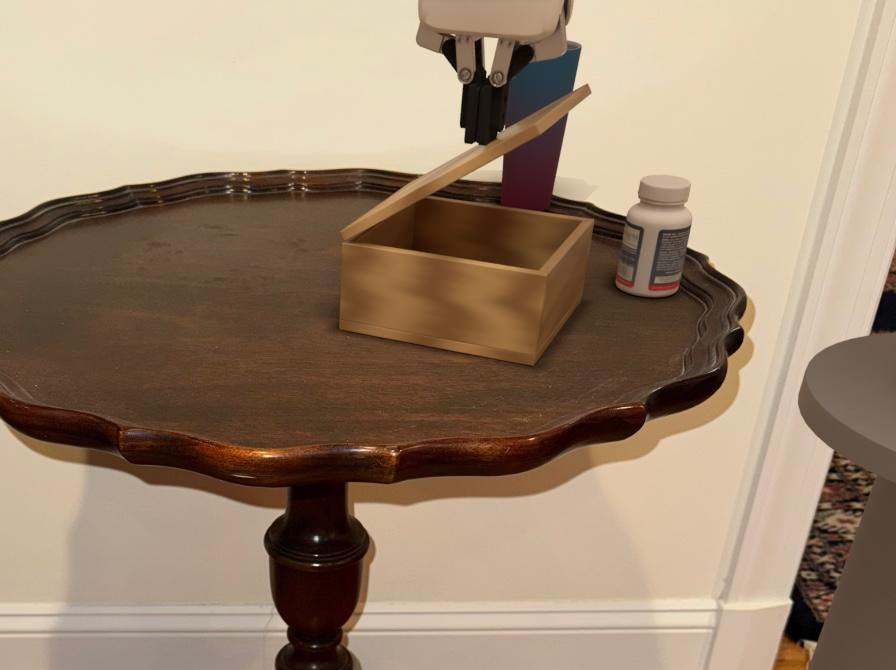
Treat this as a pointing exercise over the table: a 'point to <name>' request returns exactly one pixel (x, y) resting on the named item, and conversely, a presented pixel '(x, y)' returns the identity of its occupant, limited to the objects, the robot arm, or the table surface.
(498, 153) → the lid
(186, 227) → the table surface
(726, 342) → the table surface
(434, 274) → the chest
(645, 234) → the pill bottle
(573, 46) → the cup
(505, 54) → the robot arm
